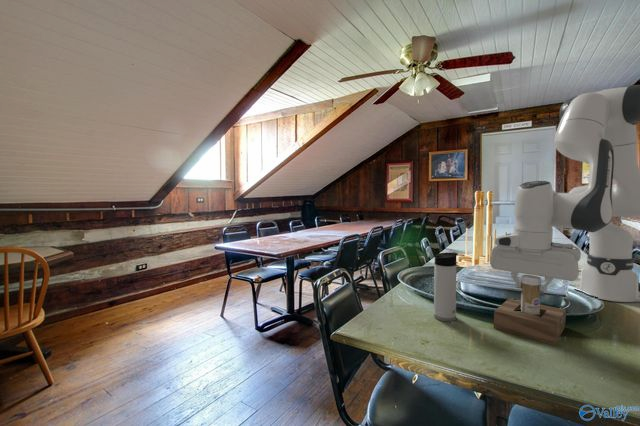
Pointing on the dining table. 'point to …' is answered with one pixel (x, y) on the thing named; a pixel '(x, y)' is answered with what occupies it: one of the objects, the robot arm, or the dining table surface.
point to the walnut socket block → (530, 321)
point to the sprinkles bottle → (530, 295)
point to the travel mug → (445, 286)
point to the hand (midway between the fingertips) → (530, 289)
